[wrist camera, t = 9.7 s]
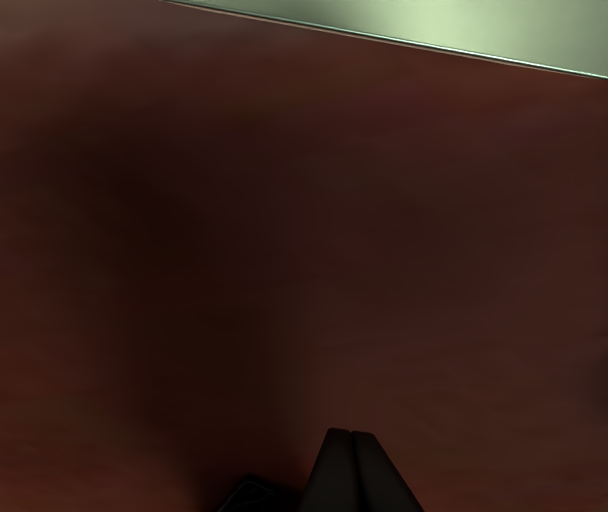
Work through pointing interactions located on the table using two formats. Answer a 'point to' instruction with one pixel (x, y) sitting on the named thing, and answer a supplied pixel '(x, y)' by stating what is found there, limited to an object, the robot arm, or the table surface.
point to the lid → (458, 26)
